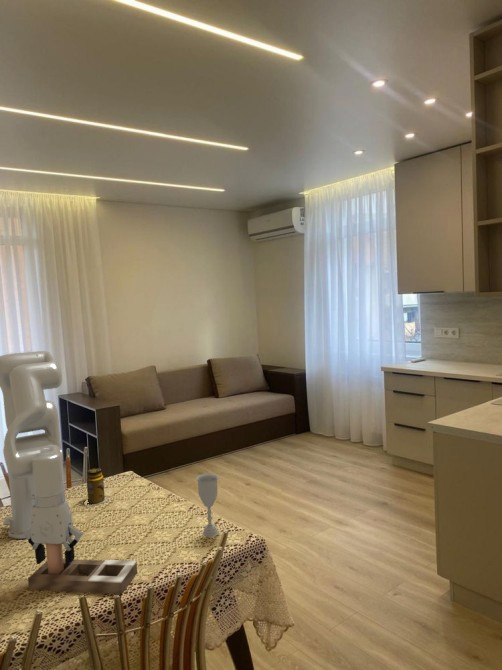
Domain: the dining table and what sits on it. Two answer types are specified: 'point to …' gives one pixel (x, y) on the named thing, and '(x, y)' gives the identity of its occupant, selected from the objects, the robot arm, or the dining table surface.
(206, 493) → the chalice
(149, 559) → the dining table surface
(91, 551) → the dining table surface
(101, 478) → the condiment
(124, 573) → the block with square holes
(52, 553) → the peg
